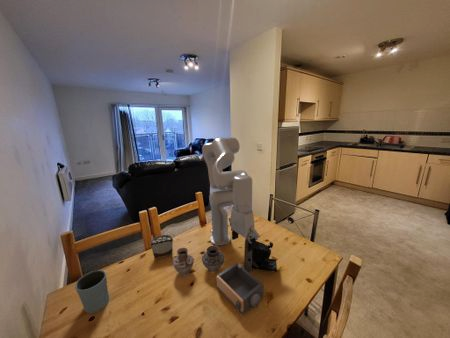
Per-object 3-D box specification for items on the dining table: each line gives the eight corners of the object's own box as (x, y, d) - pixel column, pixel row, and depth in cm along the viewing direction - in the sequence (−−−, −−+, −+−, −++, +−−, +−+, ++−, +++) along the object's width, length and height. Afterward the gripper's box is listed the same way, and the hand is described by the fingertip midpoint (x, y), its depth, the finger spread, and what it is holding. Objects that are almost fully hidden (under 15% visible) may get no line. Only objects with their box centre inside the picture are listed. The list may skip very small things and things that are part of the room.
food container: (174, 247, 112) (172, 232, 110) (175, 254, 106) (173, 238, 104) (152, 252, 108) (149, 236, 106) (151, 259, 103) (149, 243, 100)
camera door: (215, 287, 83) (214, 277, 82) (218, 285, 84) (218, 275, 83) (240, 314, 71) (240, 303, 70) (243, 311, 72) (243, 300, 71)
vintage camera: (276, 280, 88) (280, 242, 83) (243, 274, 91) (244, 237, 86) (275, 265, 97) (278, 230, 93) (245, 260, 100) (246, 226, 96)
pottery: (175, 265, 98) (172, 245, 95) (223, 258, 102) (222, 239, 99) (172, 283, 87) (170, 260, 84) (226, 275, 91) (226, 253, 88)
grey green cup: (106, 311, 75) (101, 286, 72) (76, 319, 72) (69, 293, 69) (113, 290, 84) (108, 267, 81) (87, 296, 82) (81, 272, 79)
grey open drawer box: (216, 288, 84) (216, 274, 82) (237, 273, 92) (237, 260, 90) (245, 319, 70) (245, 303, 69) (267, 299, 78) (267, 285, 76)
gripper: (222, 201, 80) (223, 237, 84) (251, 217, 67) (250, 259, 71) (235, 197, 85) (236, 231, 89) (265, 210, 71) (264, 250, 75)
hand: (242, 243), depth 80 cm, fingers open, 9 cm apart
